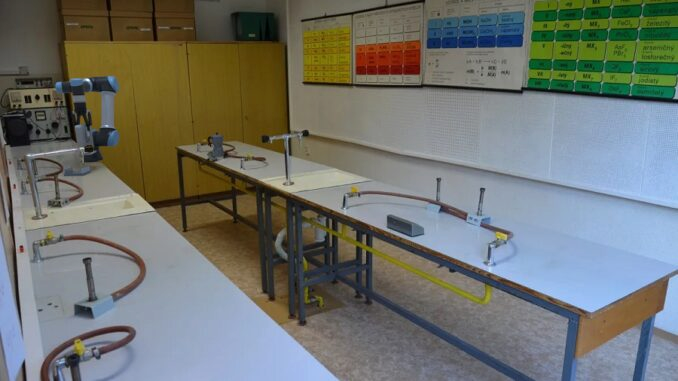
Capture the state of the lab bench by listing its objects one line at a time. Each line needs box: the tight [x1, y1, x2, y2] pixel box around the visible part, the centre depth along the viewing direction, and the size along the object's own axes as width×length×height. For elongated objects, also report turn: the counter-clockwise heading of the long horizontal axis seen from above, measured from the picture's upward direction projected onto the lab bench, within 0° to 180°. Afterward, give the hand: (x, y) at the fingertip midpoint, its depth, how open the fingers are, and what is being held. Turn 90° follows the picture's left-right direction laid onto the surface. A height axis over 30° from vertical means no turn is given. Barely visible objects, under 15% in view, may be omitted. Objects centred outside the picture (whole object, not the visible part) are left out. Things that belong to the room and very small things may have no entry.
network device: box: [74, 122, 96, 156], centre depth 341 cm, size 26×9×20 cm, turn 13°
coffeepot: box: [206, 132, 225, 157], centre depth 387 cm, size 15×9×18 cm, turn 138°
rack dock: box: [62, 165, 91, 177], centre depth 330 cm, size 10×13×4 cm
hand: (84, 136), depth 341 cm, fingers closed on network device, 4 cm apart
